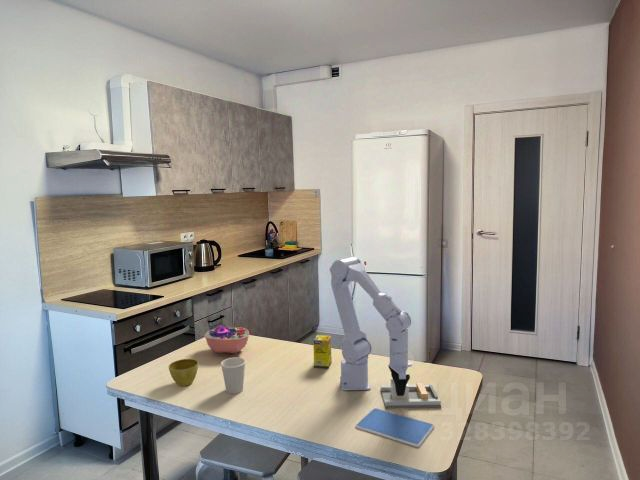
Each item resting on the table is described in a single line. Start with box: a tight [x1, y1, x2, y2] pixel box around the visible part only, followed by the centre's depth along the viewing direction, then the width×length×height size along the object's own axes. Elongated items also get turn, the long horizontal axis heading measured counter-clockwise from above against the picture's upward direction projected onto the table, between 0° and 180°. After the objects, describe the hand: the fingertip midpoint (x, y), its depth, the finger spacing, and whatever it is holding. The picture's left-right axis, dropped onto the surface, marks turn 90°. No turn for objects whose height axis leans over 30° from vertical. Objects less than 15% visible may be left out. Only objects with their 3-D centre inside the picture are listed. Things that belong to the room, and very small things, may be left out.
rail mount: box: [380, 383, 442, 409], centre depth 143 cm, size 17×13×2 cm
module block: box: [390, 378, 410, 399], centre depth 143 cm, size 5×5×4 cm
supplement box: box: [312, 334, 333, 369], centre depth 171 cm, size 6×6×11 cm
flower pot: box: [168, 358, 199, 387], centre depth 158 cm, size 10×10×7 cm
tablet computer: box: [354, 407, 435, 448], centre depth 126 cm, size 19×13×1 cm, turn 56°
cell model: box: [203, 324, 250, 354], centre depth 187 cm, size 17×20×11 cm
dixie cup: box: [220, 357, 247, 395], centre depth 151 cm, size 8×8×10 cm
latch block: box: [415, 382, 428, 399], centre depth 143 cm, size 2×8×2 cm, turn 179°
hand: (398, 391), depth 143 cm, fingers closed on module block, 5 cm apart
